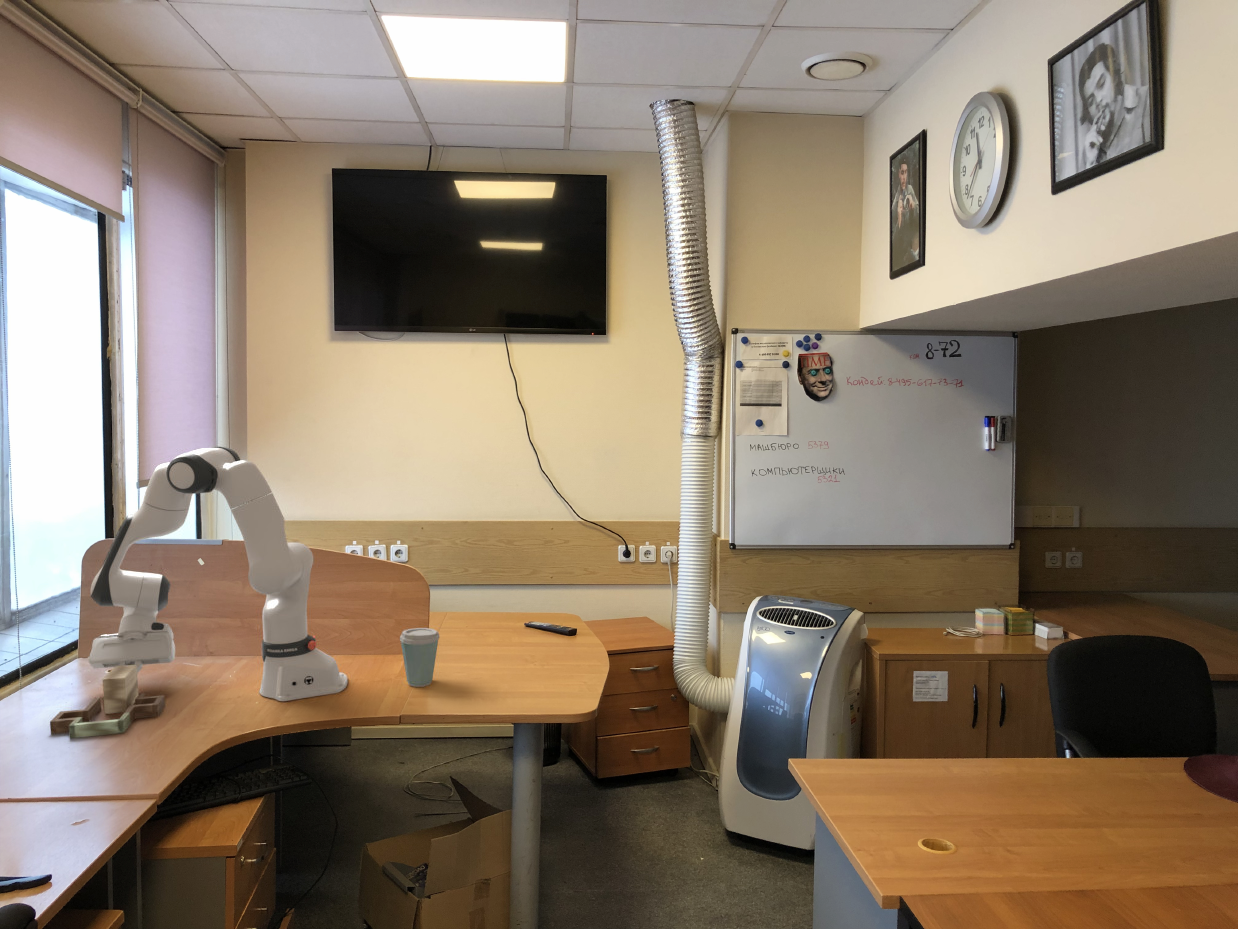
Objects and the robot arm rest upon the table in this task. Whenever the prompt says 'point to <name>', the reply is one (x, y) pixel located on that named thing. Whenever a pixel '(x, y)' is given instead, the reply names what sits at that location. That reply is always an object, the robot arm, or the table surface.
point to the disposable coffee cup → (419, 655)
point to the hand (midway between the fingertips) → (128, 679)
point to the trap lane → (82, 727)
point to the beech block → (120, 688)
